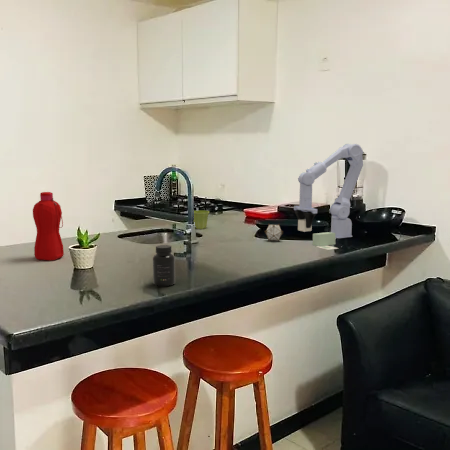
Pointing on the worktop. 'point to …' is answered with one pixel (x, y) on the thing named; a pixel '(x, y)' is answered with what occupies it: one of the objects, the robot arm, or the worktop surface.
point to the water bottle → (47, 228)
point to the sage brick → (324, 239)
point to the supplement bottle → (163, 266)
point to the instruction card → (327, 247)
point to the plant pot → (201, 219)
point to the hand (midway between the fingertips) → (304, 227)
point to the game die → (273, 232)
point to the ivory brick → (303, 225)
